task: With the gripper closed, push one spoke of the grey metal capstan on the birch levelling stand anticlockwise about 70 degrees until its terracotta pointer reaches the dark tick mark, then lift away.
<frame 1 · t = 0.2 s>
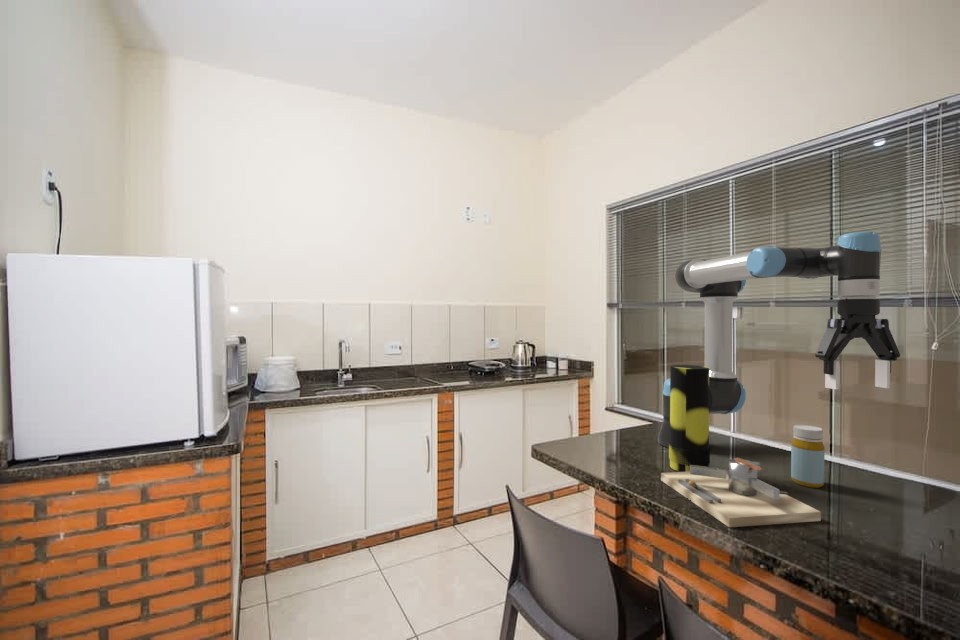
hand: (857, 388, 100), 28 cm above the worktop, fingers open, 13 cm apart
container: (688, 469, 124), on the worktop
stand: (732, 498, 104), on the worktop
bottle: (807, 483, 114), on the worktop
capstan: (747, 477, 102), point 6 cm above the worktop, hinge at 0.0°
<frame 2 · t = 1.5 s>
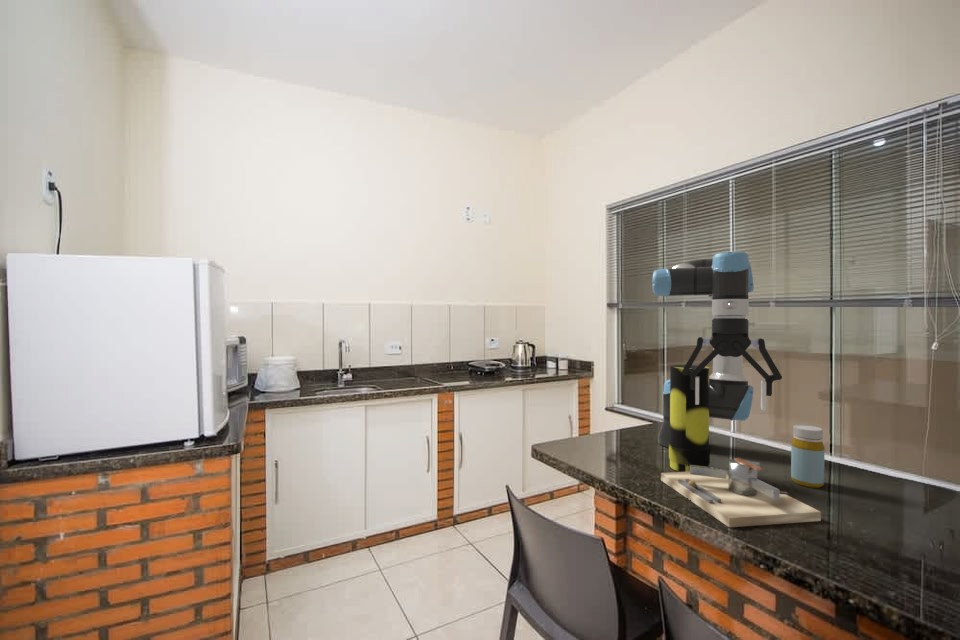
hand: (729, 406, 101), 23 cm above the worktop, fingers open, 13 cm apart
nothing on the worktop moved.
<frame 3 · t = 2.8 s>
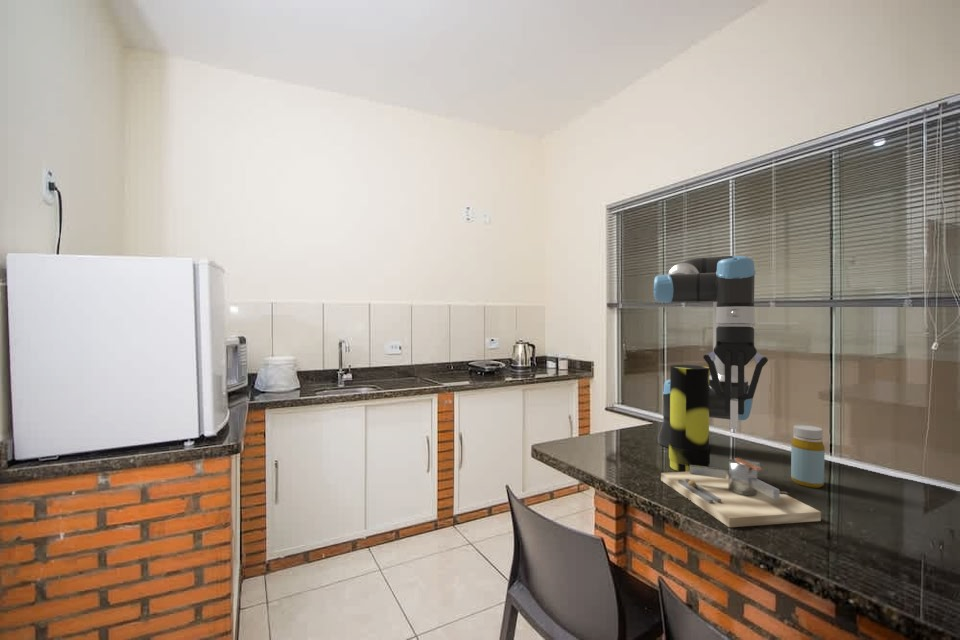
hand: (734, 427, 97), 19 cm above the worktop, fingers closed
nothing on the worktop moved.
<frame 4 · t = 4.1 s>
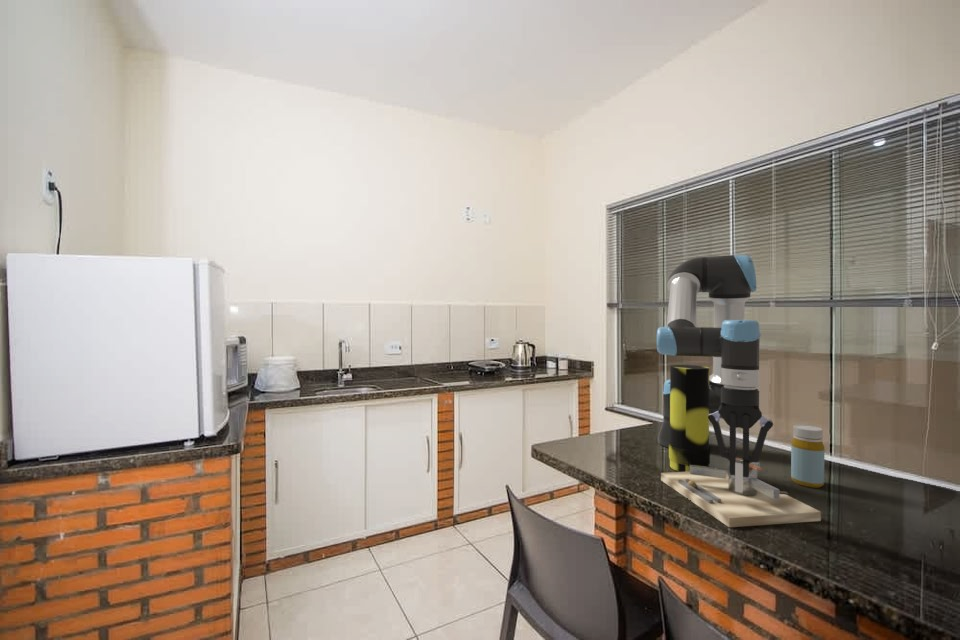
hand: (738, 489, 97), 5 cm above the worktop, fingers closed
nothing on the worktop moved.
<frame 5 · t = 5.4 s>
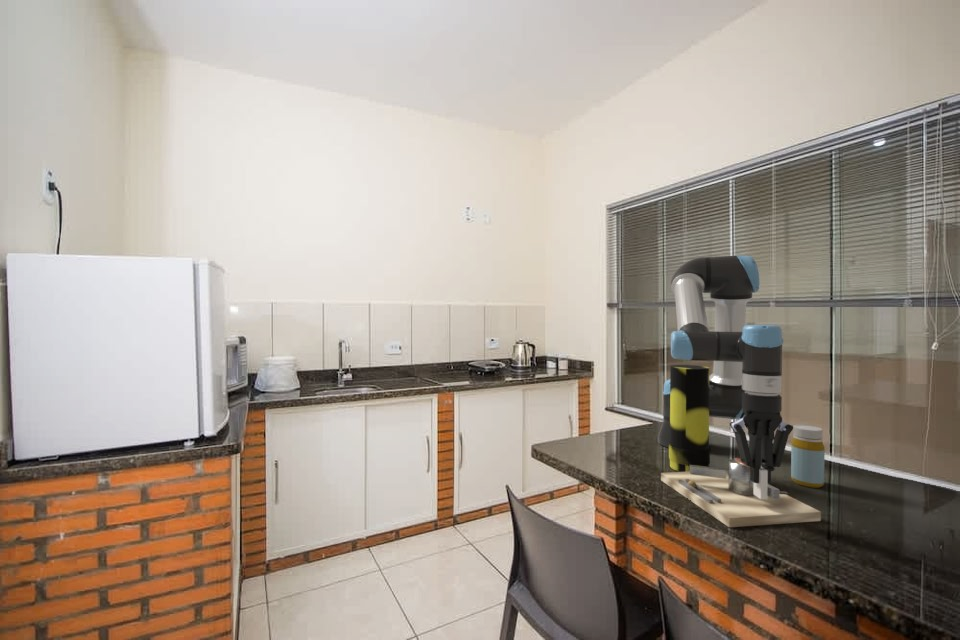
hand: (760, 496, 96), 4 cm above the worktop, fingers closed
capstan: (747, 477, 102), point 6 cm above the worktop, hinge at 0.0°, touching gripper
everything else where it was.
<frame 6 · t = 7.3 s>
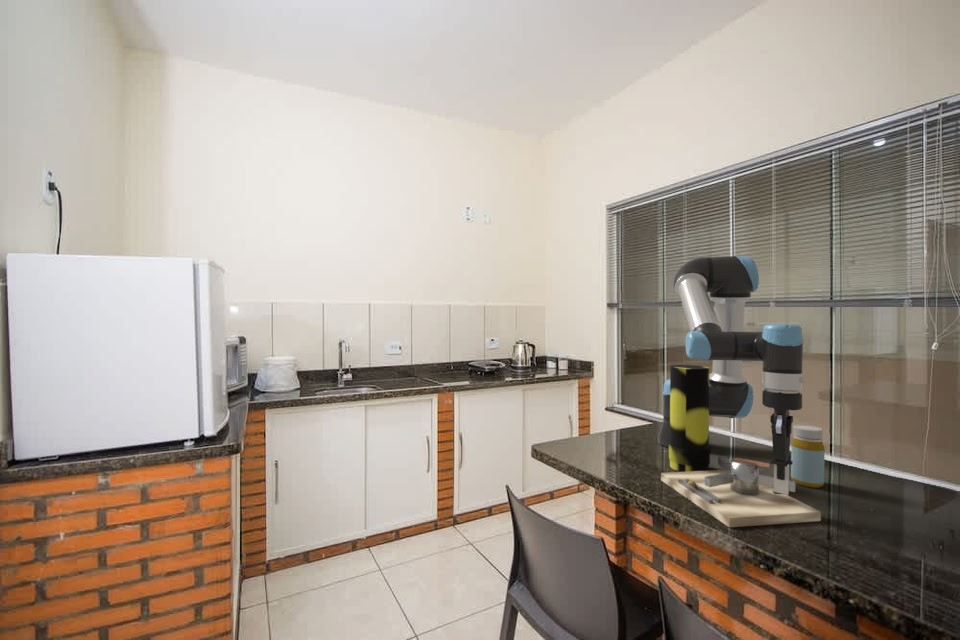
hand: (781, 492, 98), 4 cm above the worktop, fingers closed
capstan: (751, 476, 103), point 6 cm above the worktop, hinge at 44.2°, touching gripper
everything else where it was.
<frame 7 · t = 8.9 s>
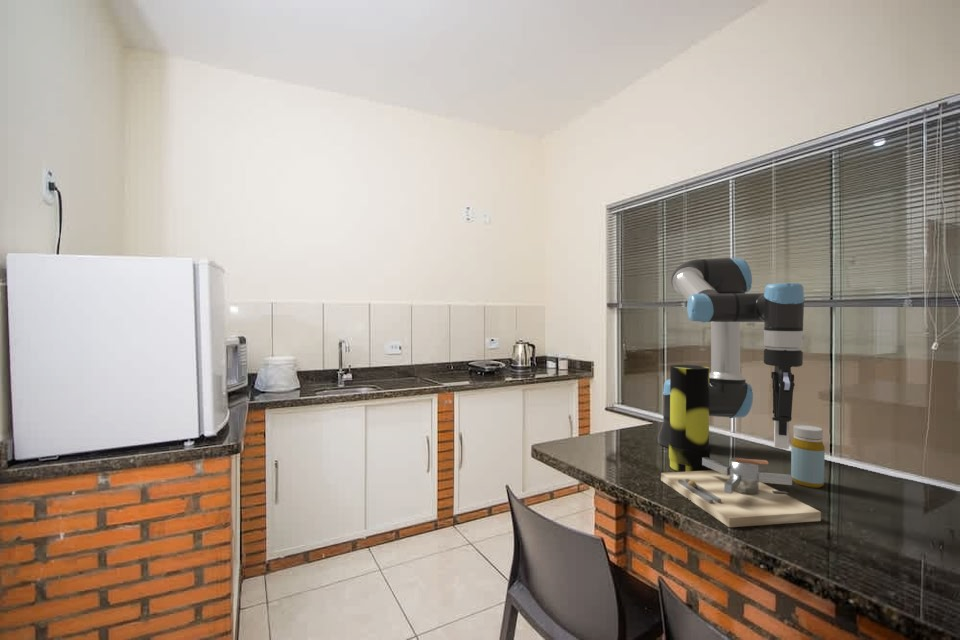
hand: (781, 447, 101), 14 cm above the worktop, fingers closed
capstan: (750, 474, 104), point 6 cm above the worktop, hinge at 68.8°
everything else where it was.
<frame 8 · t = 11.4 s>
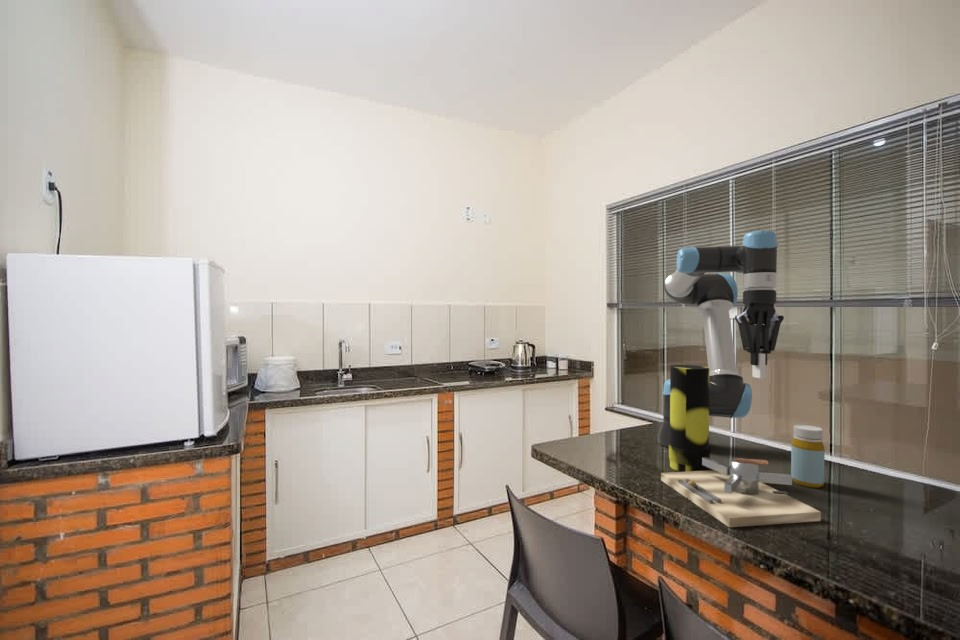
hand: (758, 377, 113), 28 cm above the worktop, fingers closed
nothing on the worktop moved.
at the end: capstan at +69° (first picture: +0°) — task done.
